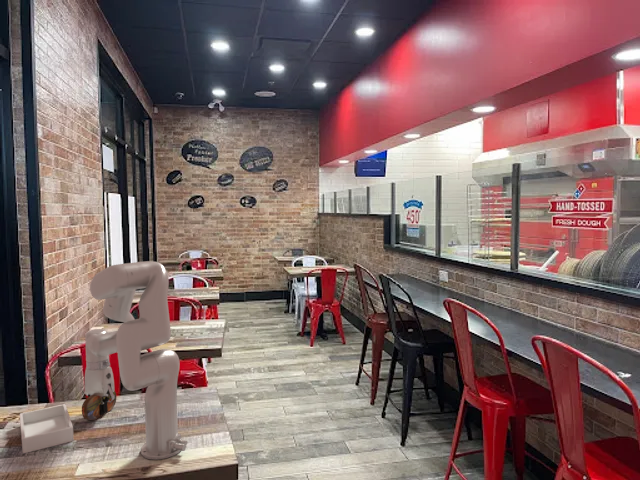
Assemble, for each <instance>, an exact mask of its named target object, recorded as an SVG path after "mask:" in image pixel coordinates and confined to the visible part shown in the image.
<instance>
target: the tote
mask: <svg viewBox="0 0 640 480" xmlns="http://www.w3.org/2000/svg"><path fill="white" fill-rule="evenodd" d="M19 424H20V437H21V447H22V448H21V449H22V454H27V453H30V452H31V453H32V452H34V451H38V450H43V449H47V448H50V447H54V446H59V445H62V444H66V443H70V442H74V441H75V440H74V426H73V423H72V420H71V418H70V414H69V410H68V408H67V405H66V404H65V403H63V404H58V405H53V406H49V407H45V408H40V409H35V410H31V411H25V412H21V413H19Z"/></svg>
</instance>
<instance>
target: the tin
mask: <svg viewBox="0 0 640 480" xmlns="http://www.w3.org/2000/svg"><path fill="white" fill-rule="evenodd" d="M113 394H114V397H113V398H111V399H110V400H109V402H107V407H108V412H107V413H109V412H111V411H112V410H113V408H115V405H116V402H117V393H116V390H114V392H113ZM104 398H105V397H104ZM100 404H101V403H100V396H97V395H91V396H89V397H88V396H87V398H85V399H84V401H83V402H82V406H81V415H82V418H84V419H85V420H88V421H89V420H90V421H95V420H97V419H99V418H101V417H102V416H104V415H105V414H107V413H105V414H103V415H100V412H99V405H100Z"/></svg>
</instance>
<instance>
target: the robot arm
mask: <svg viewBox="0 0 640 480" xmlns="http://www.w3.org/2000/svg"><path fill="white" fill-rule="evenodd" d="M89 284H90V285H89V292H90V294H91V296H92V297H93V299H95V300H99V301H100V300H104V304H103V305H102V306H103V307H102V313H103V315H104V316H105V317H106V318H108V319H110V320H111V321H115V322H121V323H122V324H120V325H119V327H118V329H117V330H114V331H110V332H108V330H106V329H103V328H97V329H91V330H89V331H87V332H86V333H85V337H84V338H85V339H84V340H85V341H84V342H85V361H86V362H85V363H86V367H85V370H84V395H86V396H87V398H88V397H89V396H91V395H97V396H100V403H101V404H100V405H99V412H100V415H102V416H104V415H105V413H106V414H107V413H109V412H108V407H107V402H109V400H110V399H111V398H113V397H114V394H113V392H114V391H115V379H114V373H113V369H112V367H111V362H110V355H112V354H115V353H116V354H117V360H118V368H119V369H118V370H119V377H120V380H121V381H120V382H121V383H122V386H123V387H124V388H125V389H126V390H128V391H137V390H140V389H144V388H146V391H145V395H144V415H145V418H144V419H145V421H144V422H145V443H144V444H142V446H141V448H140V454H141V456H142V457H143V458H145V459H148V460H156V461H158V460H163V459H164V460H165V459H168V458H171V457H174V456H176V455H178V454H179V453H181V451H182V452H185V450H186V449H187V444H188V441H187V440H186V439H185V440H184V439H182V435H181V433H179V427H178V426H179V424H178V423H179V422H178V418H179V417H178V379H179V372H180V362H181V361H180V358H179V355H178V354H177V353H176V352H175V351H174V349H170V348H163V349H157V350H153V351H150V352H146V353H144V354H141V352H142V351H145V350H149V349H153V348H157V347H160V346H162V345H165V344H166V343H168V342H169V341H170V339H171V331H172V330H171V321H170V320H171V319H170V313H169V312H170V311H169V303H168V302H169V301H168V294H169V293H168V292H169V286H170V285H169V274H168V271H167V269H166V267H165V266H164V265H163V264H162V263H161V262H158V261H153V260H151V261H149V260H147V261H135V262H127V263H120V264H119V263H118V264H113V265H110V266H107V267H106V268H104V269H103V270H101V271H99V272H97V273H96V274H95V275H94V276H93V277H92V279H91V281H90V283H89ZM141 289H144V290H143V293H142V294H141V296H140V299H139V301H138V310H139V318H136V319H135V317H134V316H133V314H132V313H131V312H130V311H131V308H132V305H133V300H134V298H135V294H136V291H137V290H141ZM104 397H105V398H104ZM103 414H104V415H103Z"/></svg>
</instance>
